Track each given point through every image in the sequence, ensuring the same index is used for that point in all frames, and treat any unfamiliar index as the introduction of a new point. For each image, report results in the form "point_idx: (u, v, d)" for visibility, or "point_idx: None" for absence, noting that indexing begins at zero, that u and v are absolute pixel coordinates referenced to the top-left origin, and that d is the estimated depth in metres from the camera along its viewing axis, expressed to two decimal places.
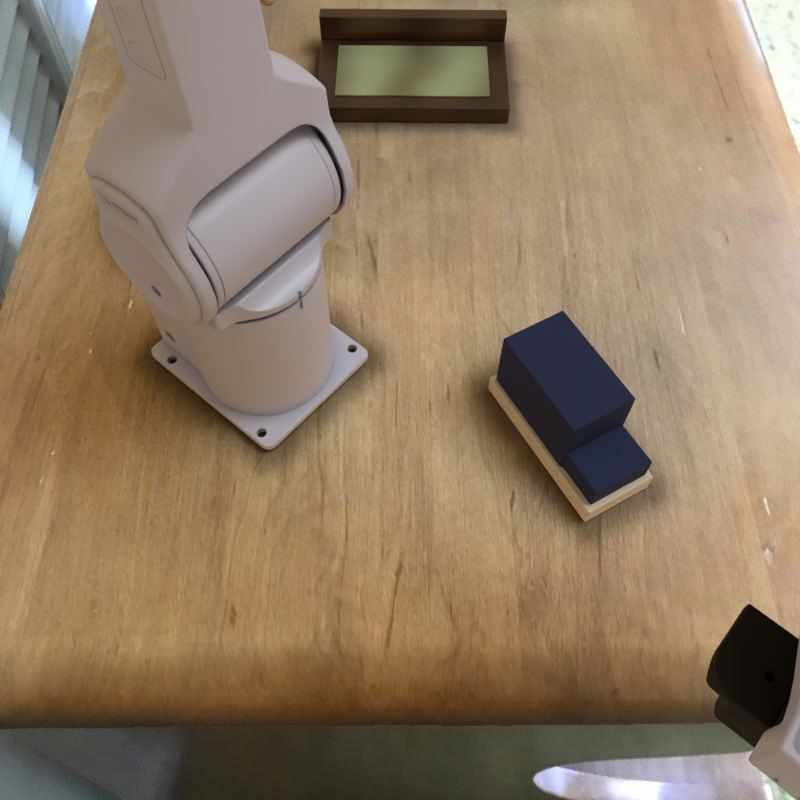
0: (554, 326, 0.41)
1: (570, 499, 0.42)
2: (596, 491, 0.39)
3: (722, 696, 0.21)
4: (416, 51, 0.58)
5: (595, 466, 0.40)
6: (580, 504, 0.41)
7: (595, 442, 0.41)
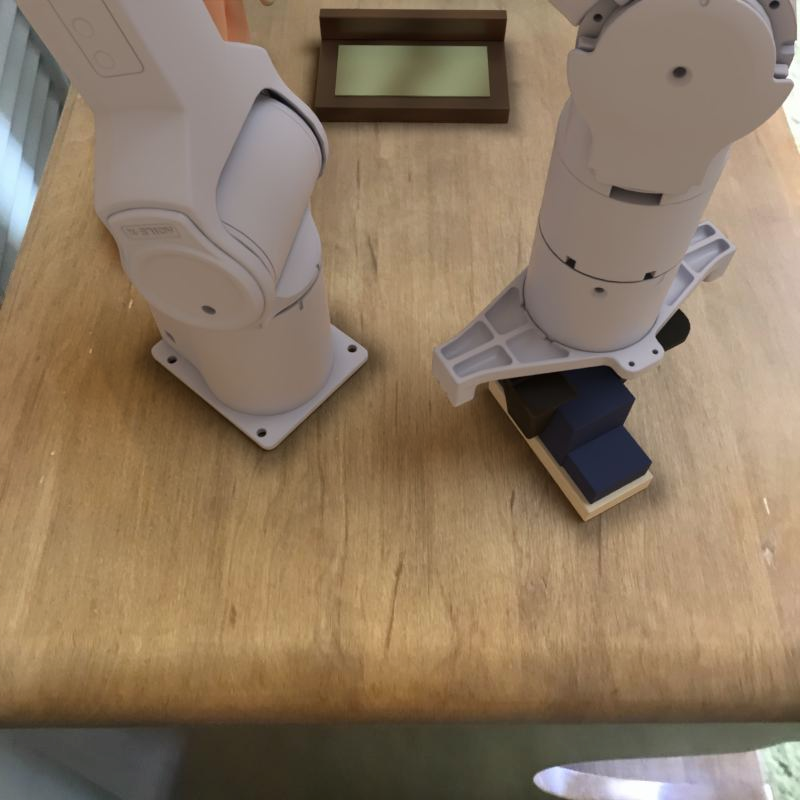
0: None
1: (570, 499, 0.42)
2: (596, 491, 0.39)
3: None
4: (416, 51, 0.58)
5: (595, 466, 0.40)
6: (580, 504, 0.41)
7: (595, 442, 0.41)
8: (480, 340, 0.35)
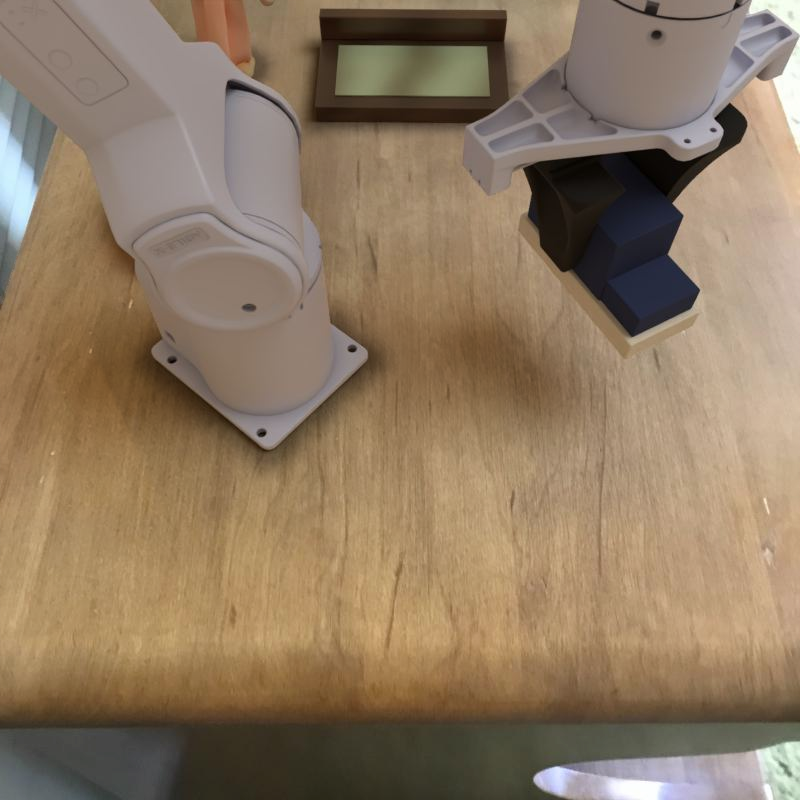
0: None
1: (609, 336, 0.38)
2: (640, 317, 0.36)
3: None
4: (416, 51, 0.58)
5: (638, 293, 0.37)
6: (620, 338, 0.37)
7: (637, 270, 0.37)
8: (517, 122, 0.31)
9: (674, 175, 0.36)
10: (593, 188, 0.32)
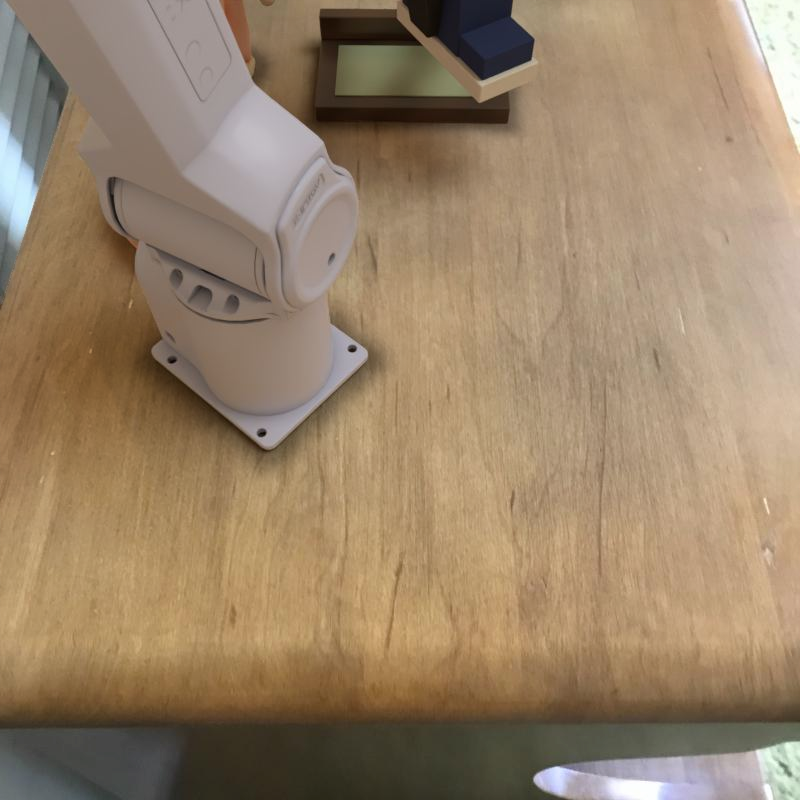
0: None
1: (466, 86, 0.47)
2: (484, 58, 0.45)
3: None
4: (416, 51, 0.58)
5: (484, 42, 0.45)
6: (474, 82, 0.46)
7: (485, 27, 0.46)
8: None
9: None
10: None
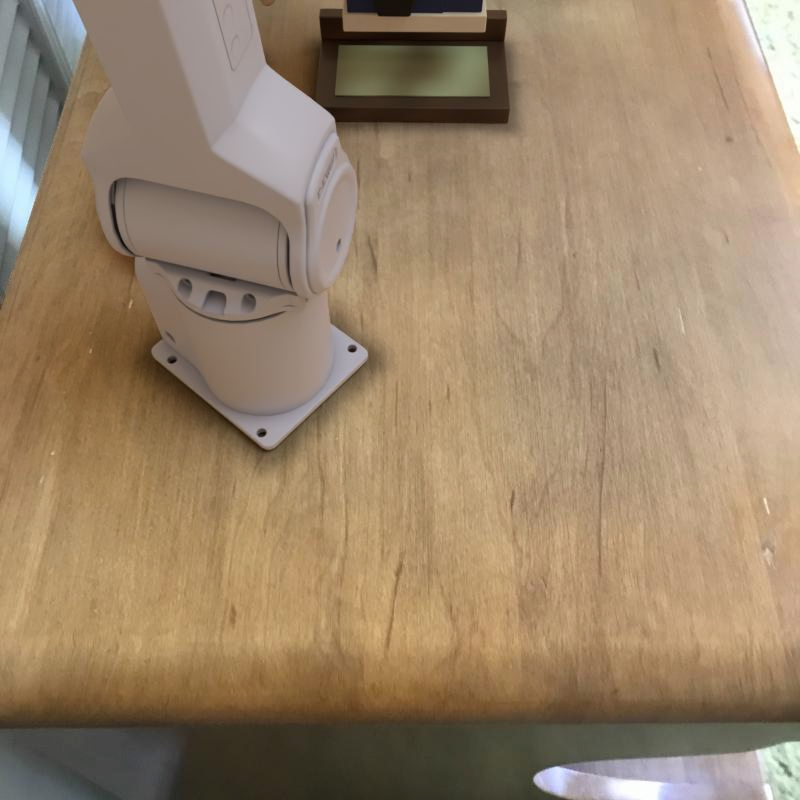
0: None
1: (465, 28, 0.52)
2: None
3: None
4: (416, 51, 0.58)
5: None
6: (476, 18, 0.52)
7: None
8: None
9: None
10: None
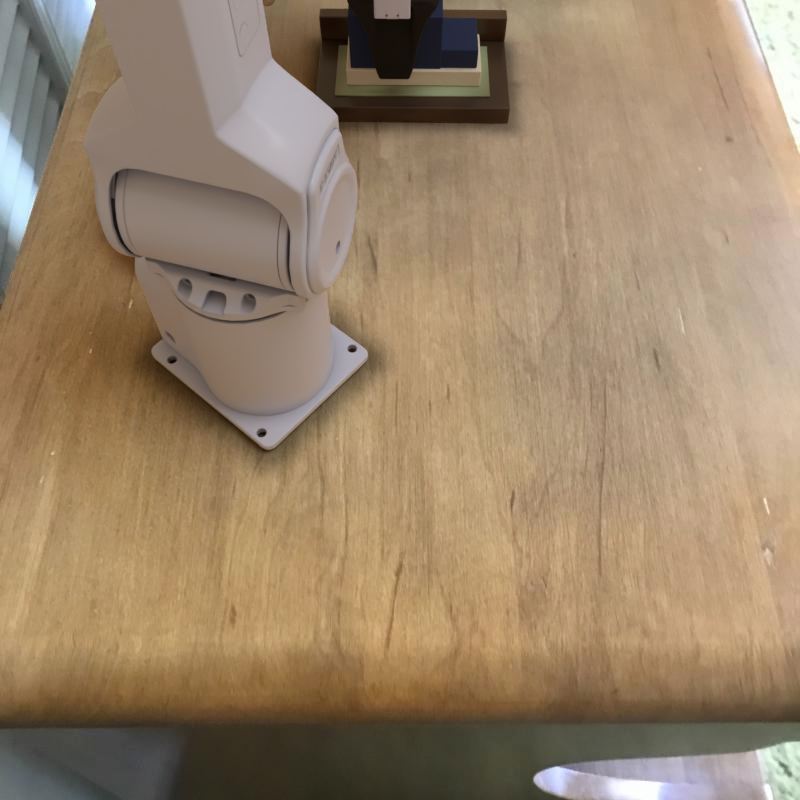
0: None
1: (461, 82, 0.56)
2: (477, 49, 0.54)
3: (356, 2, 0.48)
4: None
5: (460, 41, 0.54)
6: (471, 74, 0.55)
7: (443, 34, 0.55)
8: None
9: None
10: None
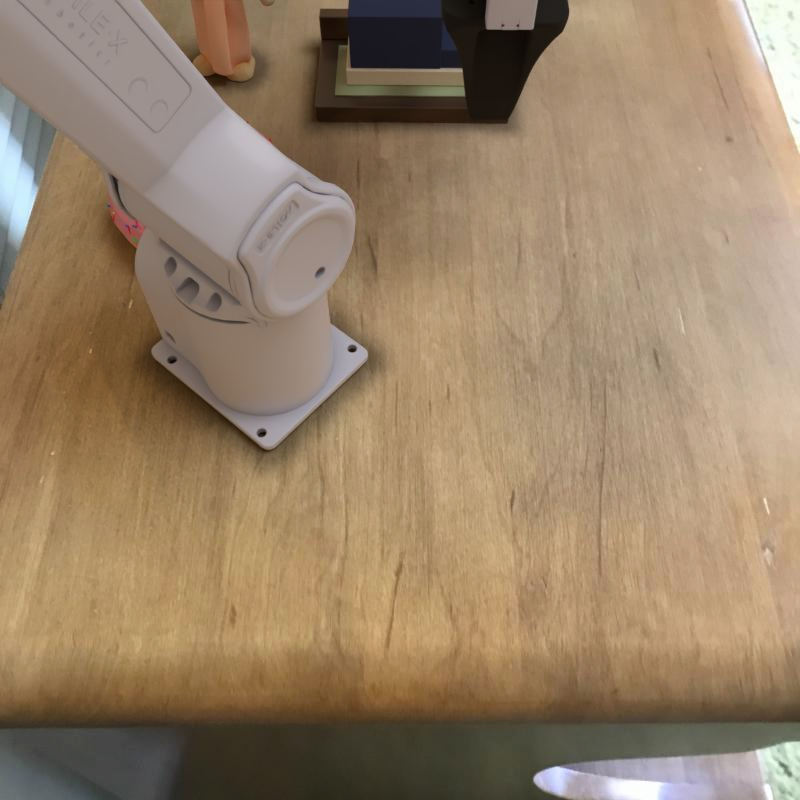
0: None
1: (461, 82, 0.56)
2: None
3: (458, 25, 0.36)
4: None
5: None
6: None
7: (443, 34, 0.55)
8: None
9: None
10: (555, 6, 0.36)
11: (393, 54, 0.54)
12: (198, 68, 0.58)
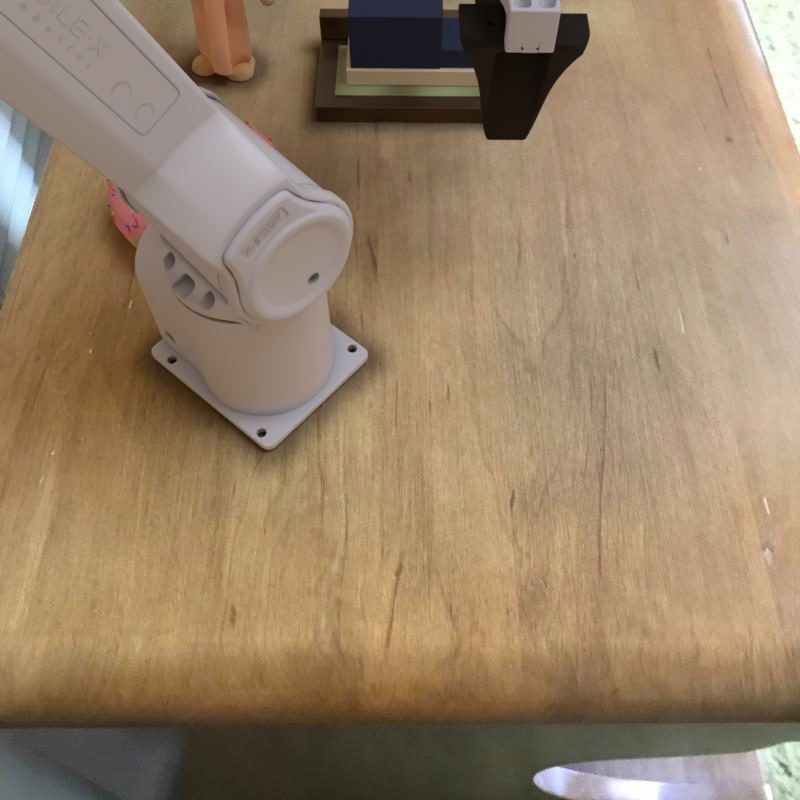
0: None
1: (461, 82, 0.56)
2: None
3: (476, 46, 0.35)
4: None
5: (460, 41, 0.54)
6: (471, 74, 0.55)
7: (443, 34, 0.55)
8: None
9: None
10: (576, 28, 0.36)
11: (393, 54, 0.54)
12: (198, 68, 0.58)
